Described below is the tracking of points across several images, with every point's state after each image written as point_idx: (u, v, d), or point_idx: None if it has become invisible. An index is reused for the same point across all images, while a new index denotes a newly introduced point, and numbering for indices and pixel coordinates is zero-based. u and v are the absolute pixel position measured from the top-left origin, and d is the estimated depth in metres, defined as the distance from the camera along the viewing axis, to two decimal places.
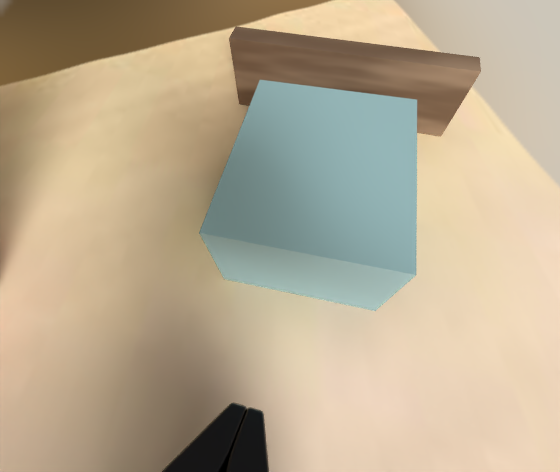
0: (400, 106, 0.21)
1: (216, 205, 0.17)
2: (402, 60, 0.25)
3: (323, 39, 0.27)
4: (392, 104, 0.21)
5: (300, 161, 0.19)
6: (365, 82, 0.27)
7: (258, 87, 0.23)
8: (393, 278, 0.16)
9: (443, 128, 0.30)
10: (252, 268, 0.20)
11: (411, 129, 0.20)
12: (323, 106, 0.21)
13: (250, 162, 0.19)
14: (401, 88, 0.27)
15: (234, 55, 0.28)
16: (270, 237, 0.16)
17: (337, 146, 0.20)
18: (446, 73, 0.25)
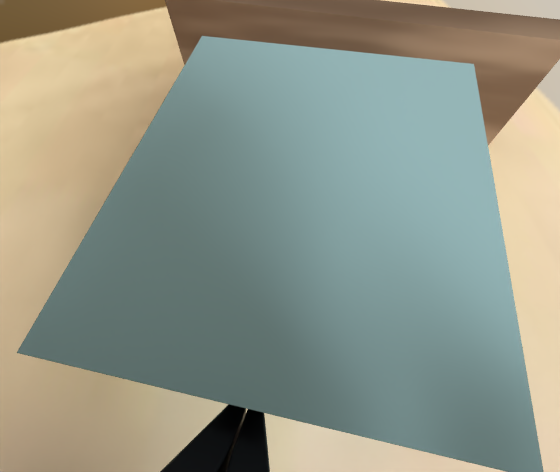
0: (446, 75, 0.12)
1: (73, 279, 0.08)
2: (439, 25, 0.15)
3: None
4: (432, 71, 0.12)
5: (262, 178, 0.10)
6: None
7: (197, 47, 0.13)
8: None
9: (492, 135, 0.20)
10: None
11: (472, 114, 0.11)
12: (308, 77, 0.12)
13: (163, 181, 0.10)
14: None
15: (176, 23, 0.18)
16: (181, 363, 0.07)
17: (334, 147, 0.10)
18: (512, 46, 0.15)
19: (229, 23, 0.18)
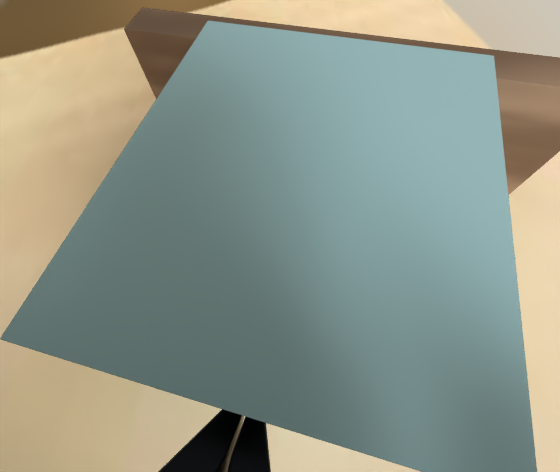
0: (462, 67, 0.11)
1: (61, 267, 0.08)
2: None
3: (298, 30, 0.14)
4: (448, 62, 0.11)
5: (259, 170, 0.09)
6: None
7: (202, 32, 0.13)
8: None
9: (514, 186, 0.17)
10: None
11: (488, 110, 0.10)
12: (315, 65, 0.11)
13: (158, 170, 0.09)
14: None
15: (142, 60, 0.16)
16: (162, 359, 0.07)
17: (337, 140, 0.10)
18: (545, 97, 0.12)
19: None
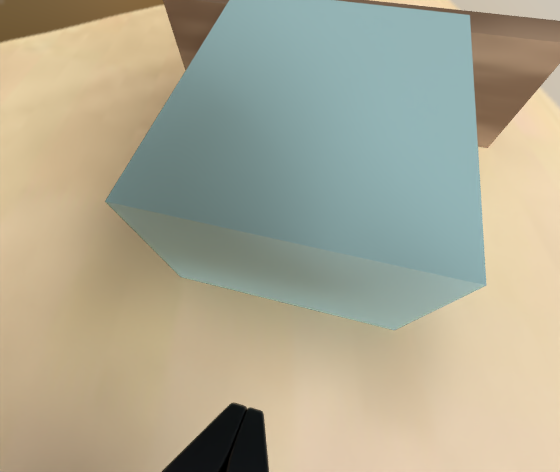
0: (444, 23, 0.14)
1: (142, 158, 0.11)
2: None
3: None
4: (432, 20, 0.14)
5: (286, 95, 0.12)
6: None
7: None
8: (437, 287, 0.09)
9: (493, 136, 0.20)
10: (210, 264, 0.13)
11: (463, 53, 0.13)
12: (326, 23, 0.14)
13: (207, 95, 0.12)
14: None
15: (175, 25, 0.18)
16: (225, 211, 0.09)
17: (345, 75, 0.12)
18: (513, 49, 0.15)
19: None
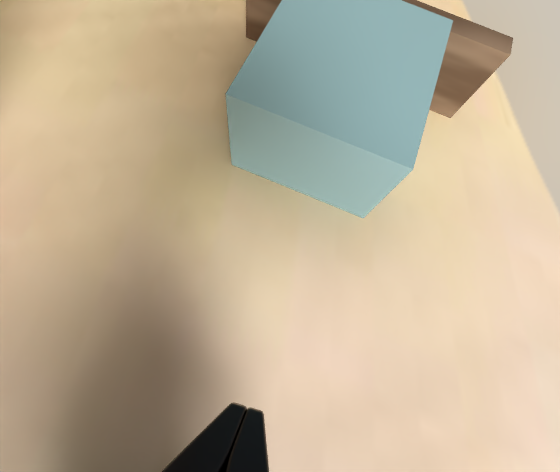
0: (436, 23, 0.22)
1: (244, 73, 0.18)
2: None
3: None
4: (429, 19, 0.22)
5: (330, 51, 0.20)
6: None
7: None
8: (391, 172, 0.18)
9: (455, 109, 0.28)
10: (263, 151, 0.21)
11: (440, 46, 0.21)
12: (362, 5, 0.21)
13: (283, 41, 0.19)
14: None
15: None
16: (291, 112, 0.18)
17: (368, 45, 0.20)
18: (475, 49, 0.23)
19: None
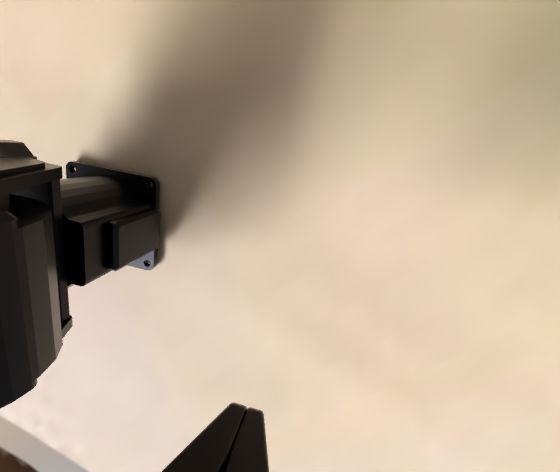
0: None
1: None
2: None
3: None
4: None
5: None
6: None
7: None
8: None
9: None
10: None
11: None
12: None
13: None
14: None
15: None
16: None
17: None
18: None
19: None
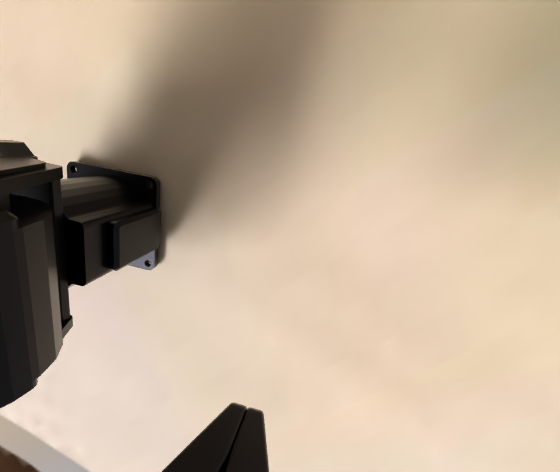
0: None
1: None
2: None
3: None
4: None
5: None
6: None
7: None
8: None
9: None
10: None
11: None
12: None
13: None
14: None
15: None
16: None
17: None
18: None
19: None
